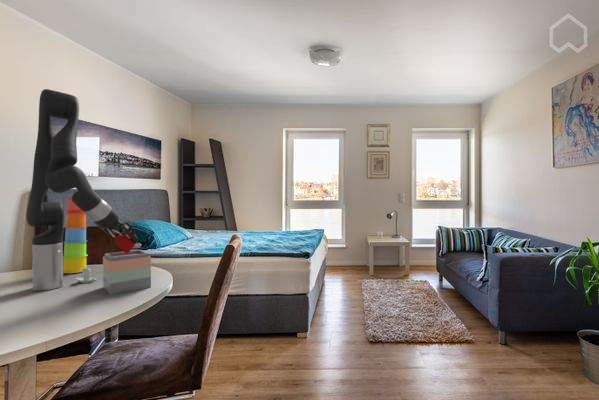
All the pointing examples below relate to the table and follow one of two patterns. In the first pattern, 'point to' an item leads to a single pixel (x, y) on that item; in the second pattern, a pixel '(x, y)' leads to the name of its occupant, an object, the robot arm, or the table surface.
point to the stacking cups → (75, 240)
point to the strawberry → (124, 243)
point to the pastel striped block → (126, 271)
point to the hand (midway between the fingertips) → (130, 241)
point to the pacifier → (86, 276)
